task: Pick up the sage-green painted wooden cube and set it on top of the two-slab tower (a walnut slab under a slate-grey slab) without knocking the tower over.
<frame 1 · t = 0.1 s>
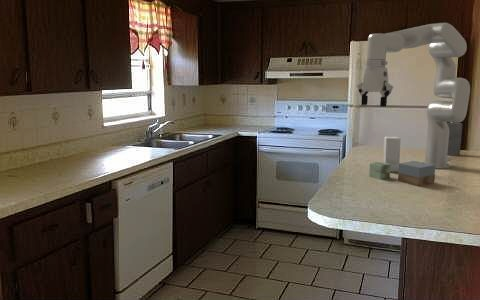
hand: (373, 105, 190), 31 cm above the countertop, fingers open, 9 cm apart
dark grey upright block: (444, 154, 250), on the countertop
skincare box: (390, 170, 209), on the countertop
sage block: (379, 177, 196), on the countertop
slab bottom: (415, 183, 187), on the countertop, touching slab top
slab top: (416, 173, 186), point 4 cm above the countertop, touching slab bottom
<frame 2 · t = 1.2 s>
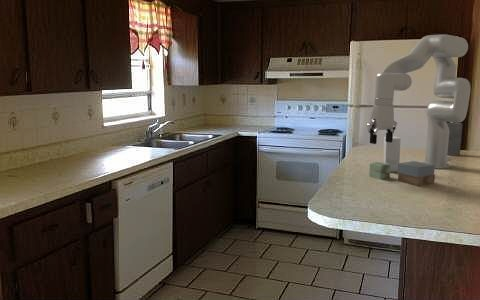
hand: (381, 142, 193), 15 cm above the countertop, fingers open, 9 cm apart
nothing on the countertop moved.
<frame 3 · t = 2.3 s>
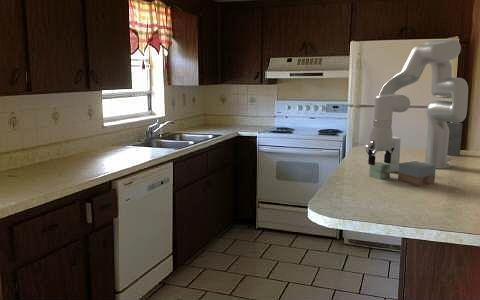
hand: (379, 163, 194), 6 cm above the countertop, fingers open, 9 cm apart
nothing on the countertop moved.
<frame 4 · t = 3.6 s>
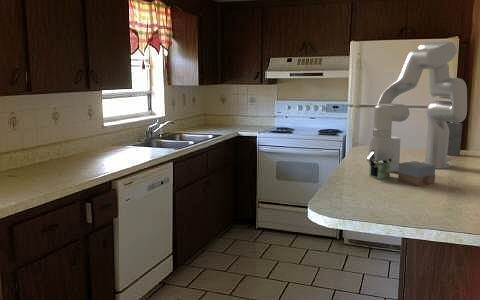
hand: (379, 174, 195), 1 cm above the countertop, fingers closed on sage block, 6 cm apart
sage block: (379, 177, 196), on the countertop, touching gripper
everything else where it was.
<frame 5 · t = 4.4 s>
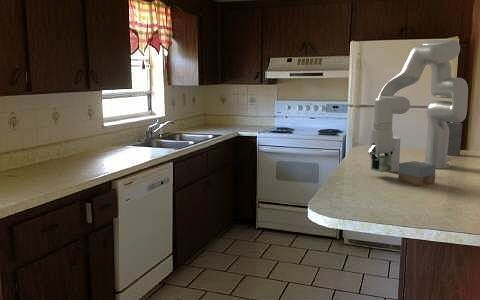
hand: (380, 167, 195), 4 cm above the countertop, fingers closed on sage block, 6 cm apart
sage block: (380, 170, 195), point 3 cm above the countertop, touching gripper
slab bottom: (416, 183, 187), on the countertop
slab top: (416, 173, 186), point 4 cm above the countertop
everything else where it was.
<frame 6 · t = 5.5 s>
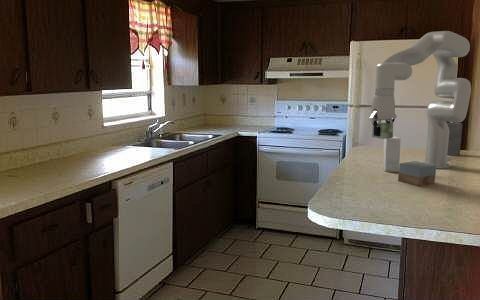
hand: (382, 134, 192), 18 cm above the countertop, fingers closed on sage block, 6 cm apart
sage block: (382, 137, 193), point 17 cm above the countertop, touching gripper
slab bottom: (415, 183, 187), on the countertop, touching slab top
slab top: (417, 173, 186), point 4 cm above the countertop, touching slab bottom
everything else where it was.
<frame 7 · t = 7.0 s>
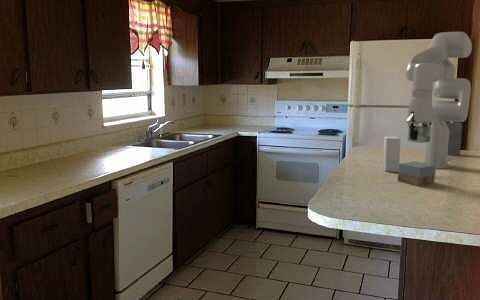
hand: (418, 138, 183), 18 cm above the countertop, fingers closed on sage block, 6 cm apart
sage block: (418, 141, 184), point 17 cm above the countertop, touching gripper
everything else where it was.
when the fingers open (10 cm above the countertop, at t = 8.6 s): sage block drops 1 cm, point 8 cm above the countertop.
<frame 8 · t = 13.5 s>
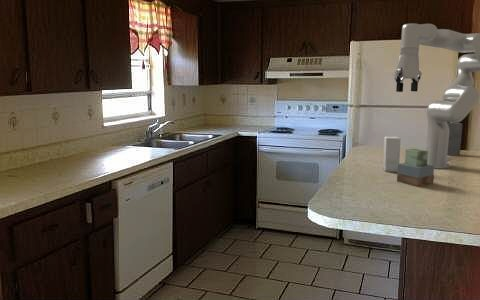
hand: (406, 91, 202), 36 cm above the countertop, fingers open, 9 cm apart
sage block: (415, 164, 185), point 8 cm above the countertop
slab top: (415, 174, 185), point 4 cm above the countertop, touching slab bottom
everything else where it was.
at the end: sage block 0.2 cm off-centre on the slab top, point 4.0 cm above the slab top's base; slab top 0.3 cm off-centre on the slab bottom, point 4.0 cm above the slab bottom's base; sage block tilted 0° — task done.
